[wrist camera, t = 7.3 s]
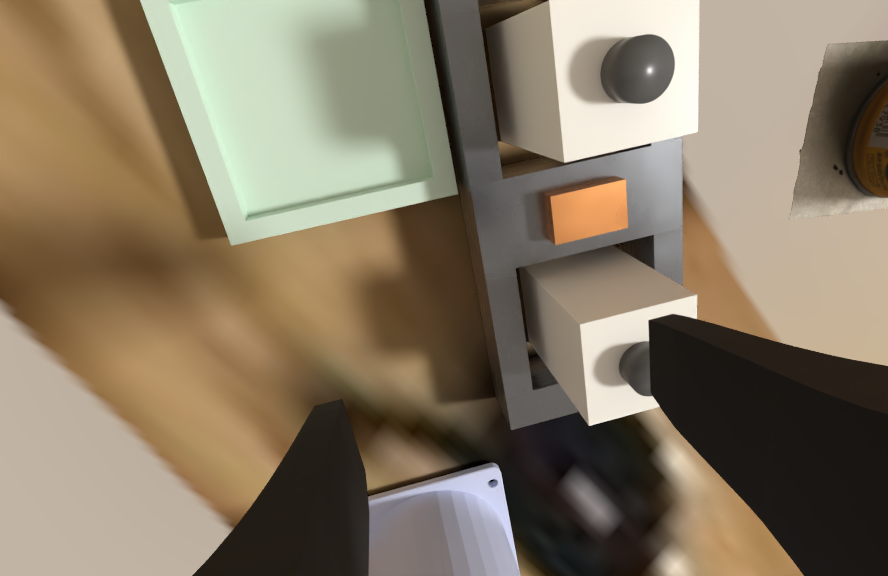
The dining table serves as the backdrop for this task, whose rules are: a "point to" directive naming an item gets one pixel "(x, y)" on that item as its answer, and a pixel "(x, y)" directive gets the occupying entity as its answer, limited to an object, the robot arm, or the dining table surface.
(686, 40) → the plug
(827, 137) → the condiment
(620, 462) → the dining table surface
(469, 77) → the small drawer cabinet
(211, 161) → the tray
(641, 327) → the pull-out knob drawer
